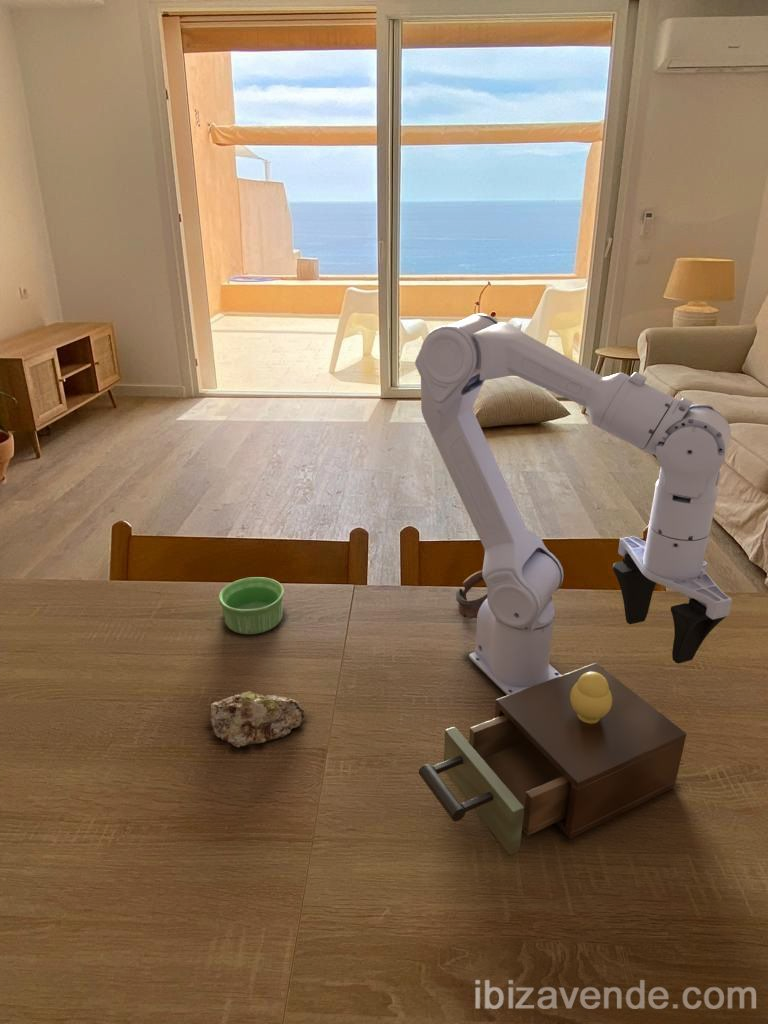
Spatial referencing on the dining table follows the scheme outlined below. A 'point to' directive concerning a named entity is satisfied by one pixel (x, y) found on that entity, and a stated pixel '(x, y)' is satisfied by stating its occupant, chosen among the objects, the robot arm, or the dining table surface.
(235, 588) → the ramekin
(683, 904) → the dining table surface
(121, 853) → the dining table surface
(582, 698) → the yellow double-bulb knob
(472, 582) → the pottery mug
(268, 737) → the mineral rock
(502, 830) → the drawer
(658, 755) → the cabinet
